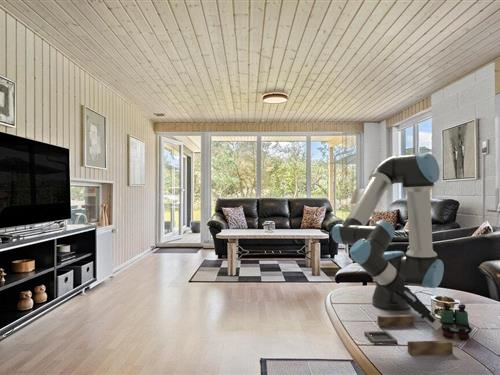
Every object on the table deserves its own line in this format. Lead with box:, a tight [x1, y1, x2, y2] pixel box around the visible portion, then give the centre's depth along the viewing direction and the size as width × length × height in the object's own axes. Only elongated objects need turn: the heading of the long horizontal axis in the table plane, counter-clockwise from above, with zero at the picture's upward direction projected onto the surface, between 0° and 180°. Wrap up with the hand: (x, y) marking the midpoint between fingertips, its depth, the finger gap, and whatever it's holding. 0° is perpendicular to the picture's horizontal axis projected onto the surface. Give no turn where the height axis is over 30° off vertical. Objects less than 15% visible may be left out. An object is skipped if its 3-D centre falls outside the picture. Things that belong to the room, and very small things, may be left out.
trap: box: [363, 330, 398, 344], centre depth 120 cm, size 8×8×1 cm
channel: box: [376, 314, 454, 356], centre depth 120 cm, size 13×25×4 cm, turn 2°
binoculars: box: [440, 302, 473, 342], centre depth 121 cm, size 9×11×10 cm
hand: (438, 326), depth 120 cm, fingers closed
